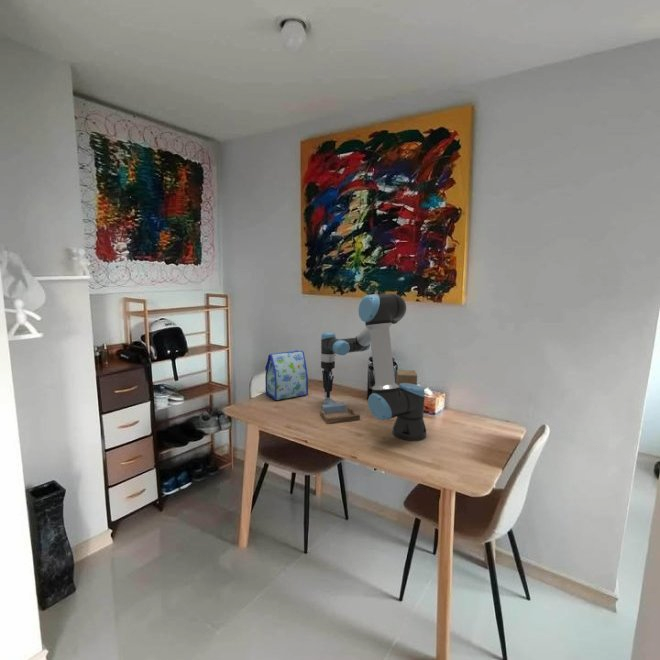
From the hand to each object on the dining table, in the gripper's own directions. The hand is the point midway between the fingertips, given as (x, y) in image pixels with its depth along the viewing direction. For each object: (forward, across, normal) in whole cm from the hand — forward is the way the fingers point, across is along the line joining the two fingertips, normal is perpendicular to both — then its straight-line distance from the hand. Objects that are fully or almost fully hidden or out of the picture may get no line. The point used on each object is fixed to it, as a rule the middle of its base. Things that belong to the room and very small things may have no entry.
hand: (327, 402), depth 214 cm
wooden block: (+2, -17, -39) cm, 43 cm away
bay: (+1, -19, 0) cm, 19 cm away
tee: (+1, -7, 0) cm, 7 cm away
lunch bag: (+2, +22, +18) cm, 29 cm away
